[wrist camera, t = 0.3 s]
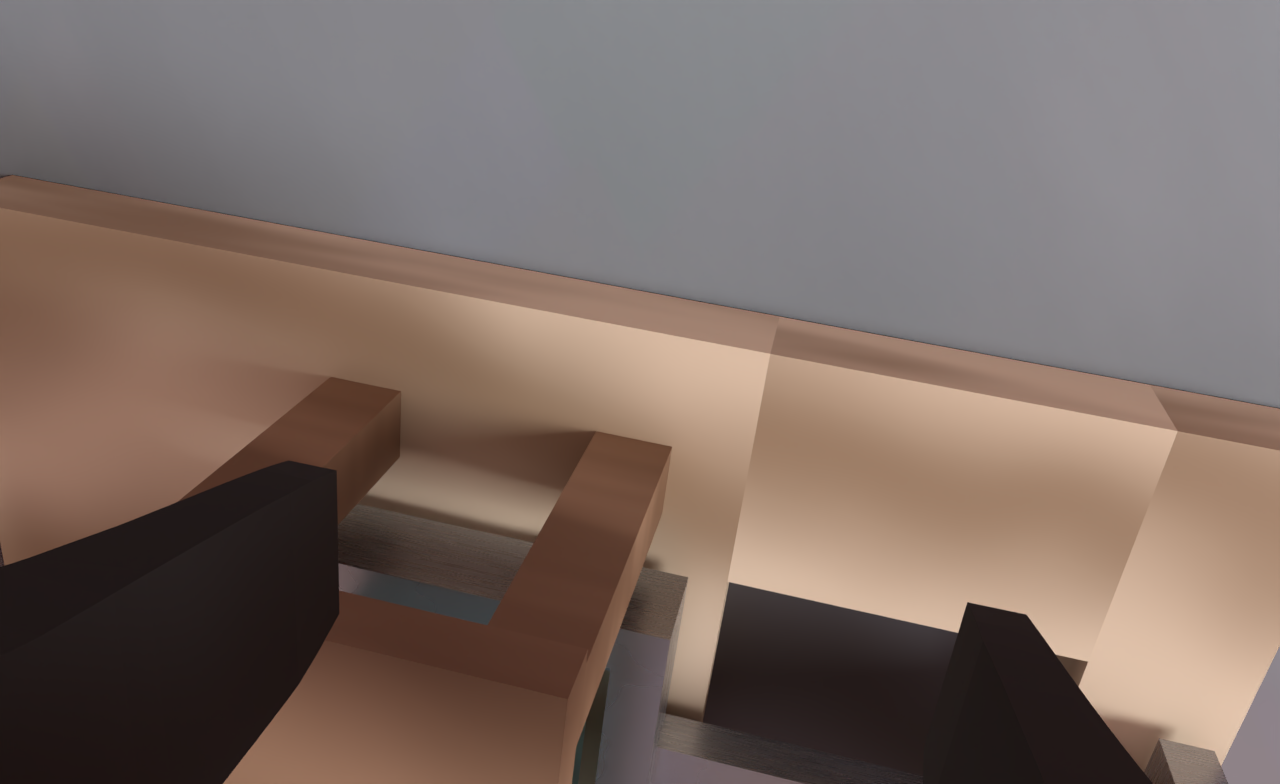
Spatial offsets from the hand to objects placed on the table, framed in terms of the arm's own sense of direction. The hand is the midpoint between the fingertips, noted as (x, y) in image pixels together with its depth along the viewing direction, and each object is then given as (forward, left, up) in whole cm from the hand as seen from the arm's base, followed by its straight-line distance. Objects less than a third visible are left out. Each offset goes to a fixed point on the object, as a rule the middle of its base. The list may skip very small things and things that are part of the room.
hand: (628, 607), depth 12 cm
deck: (-9, +3, -10) cm, 14 cm away
